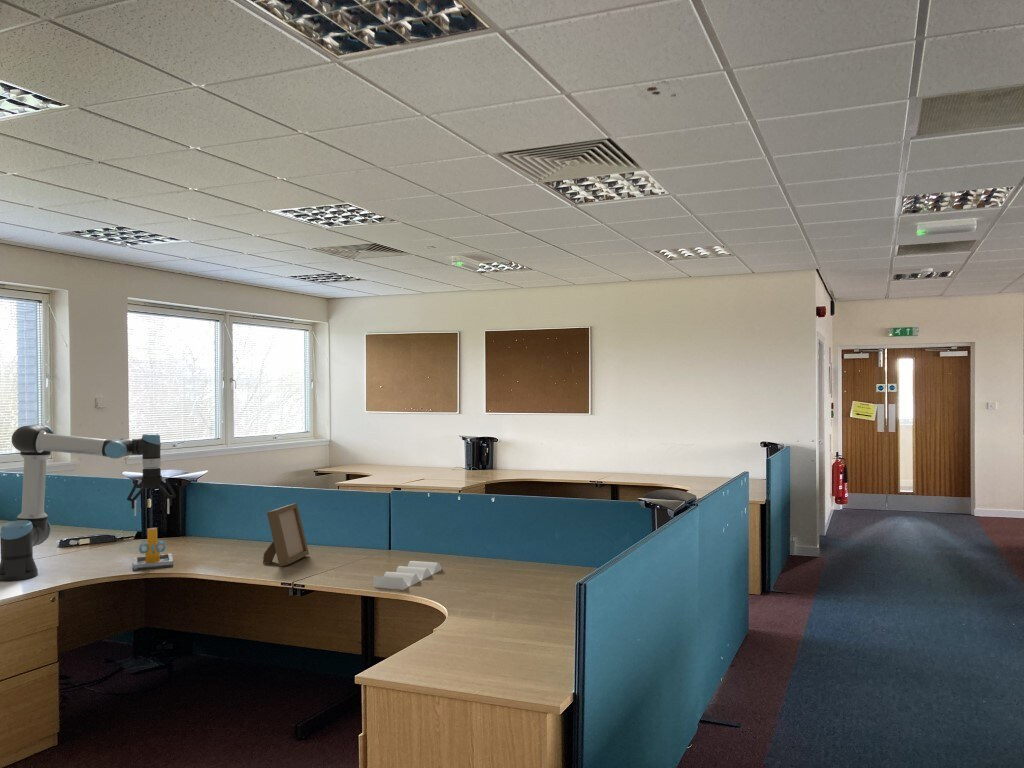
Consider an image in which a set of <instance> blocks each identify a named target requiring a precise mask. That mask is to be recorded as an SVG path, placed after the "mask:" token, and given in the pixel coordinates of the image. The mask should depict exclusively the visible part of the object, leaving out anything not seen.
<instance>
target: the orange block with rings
mask: <svg viewBox="0 0 1024 768" xmlns="http://www.w3.org/2000/svg"><path fill="white" fill-rule="evenodd" d="M160 545H162V546H163V547H162V548H159V546H160ZM143 547H146V549H142V548H143ZM165 550H166V542H165V541H163V540H160V541H158V527H149V528H147V542H141V543H140V544H139V548H138V551H139V553H140V554H145V555H144V556H145V562H146V563H151V562H159V561H160V555H161V553H163V552H164V551H165Z"/></svg>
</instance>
